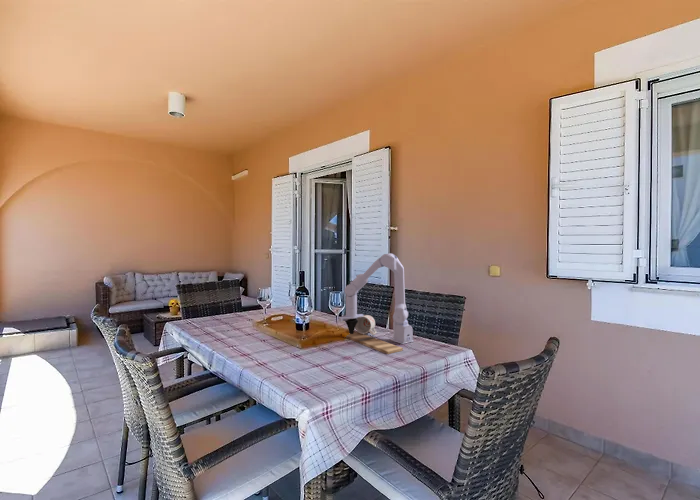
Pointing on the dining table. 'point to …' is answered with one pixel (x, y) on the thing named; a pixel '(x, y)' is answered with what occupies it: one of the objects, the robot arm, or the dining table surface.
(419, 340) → the dining table surface
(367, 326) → the mug
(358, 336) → the plank
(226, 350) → the dining table surface
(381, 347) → the oak board
